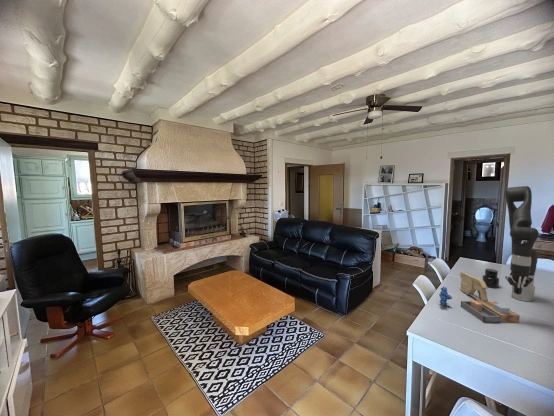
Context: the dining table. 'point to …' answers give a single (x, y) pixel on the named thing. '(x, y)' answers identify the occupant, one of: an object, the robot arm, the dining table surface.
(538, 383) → the dining table surface
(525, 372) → the dining table surface
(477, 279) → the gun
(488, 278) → the ink bottle
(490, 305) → the board
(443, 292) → the grapes
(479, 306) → the cube terracotta
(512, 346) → the dining table surface
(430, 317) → the dining table surface
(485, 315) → the tray
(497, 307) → the pale blue-gray cube
